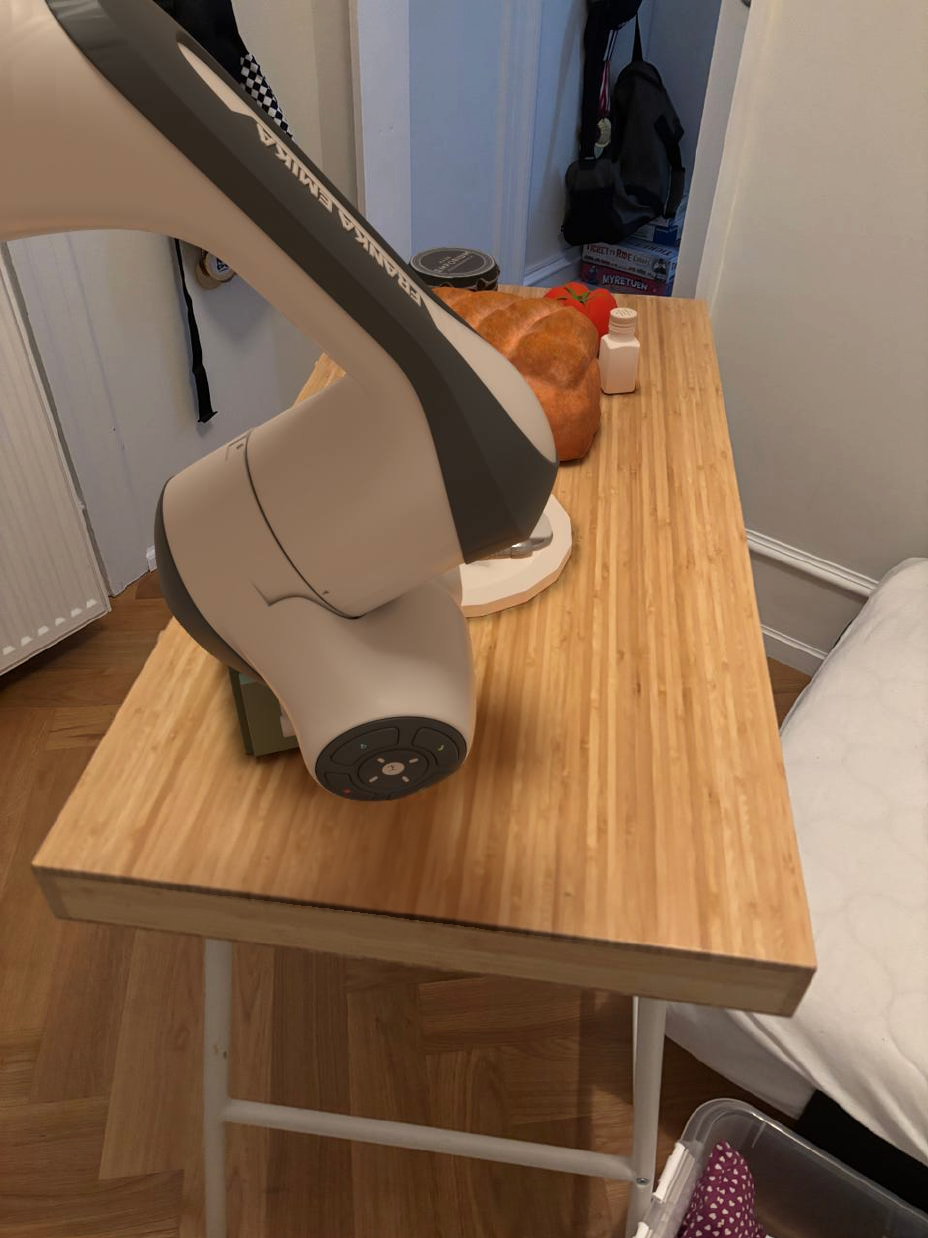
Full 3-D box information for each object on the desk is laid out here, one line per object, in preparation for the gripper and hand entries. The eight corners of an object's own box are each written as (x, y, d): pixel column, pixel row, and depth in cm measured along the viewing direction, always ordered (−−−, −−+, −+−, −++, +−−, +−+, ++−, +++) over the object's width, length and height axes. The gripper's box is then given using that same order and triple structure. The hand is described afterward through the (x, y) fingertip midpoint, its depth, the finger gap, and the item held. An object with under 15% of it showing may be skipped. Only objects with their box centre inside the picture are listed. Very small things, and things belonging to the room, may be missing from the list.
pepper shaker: (604, 395, 114) (612, 320, 108) (594, 381, 117) (602, 307, 111) (635, 393, 115) (645, 317, 109) (625, 379, 118) (634, 304, 112)
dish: (551, 637, 79) (561, 526, 72) (273, 596, 83) (256, 487, 76) (586, 487, 98) (596, 387, 91) (357, 460, 102) (350, 362, 95)
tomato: (519, 343, 126) (521, 287, 122) (576, 323, 132) (581, 269, 127) (575, 369, 120) (580, 312, 115) (633, 347, 125) (640, 292, 121)
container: (495, 354, 123) (498, 279, 117) (399, 350, 124) (396, 274, 118) (502, 317, 133) (504, 245, 127) (412, 313, 134) (410, 242, 128)
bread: (582, 473, 100) (596, 333, 90) (352, 437, 106) (341, 302, 96) (604, 415, 110) (619, 284, 101) (393, 385, 116) (387, 259, 106)
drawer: (406, 766, 67) (402, 694, 62) (263, 799, 65) (248, 726, 60) (358, 632, 78) (352, 562, 74) (235, 656, 76) (221, 585, 71)
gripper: (563, 507, 53) (526, 396, 64) (195, 524, 51) (220, 407, 62) (554, 595, 57) (521, 477, 68) (213, 613, 55) (234, 489, 66)
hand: (375, 443), depth 65 cm, fingers open, 8 cm apart
